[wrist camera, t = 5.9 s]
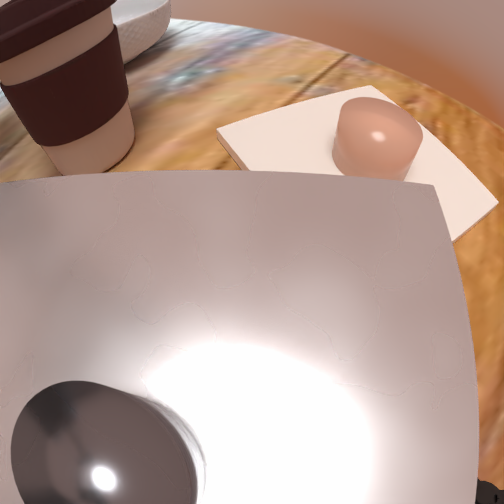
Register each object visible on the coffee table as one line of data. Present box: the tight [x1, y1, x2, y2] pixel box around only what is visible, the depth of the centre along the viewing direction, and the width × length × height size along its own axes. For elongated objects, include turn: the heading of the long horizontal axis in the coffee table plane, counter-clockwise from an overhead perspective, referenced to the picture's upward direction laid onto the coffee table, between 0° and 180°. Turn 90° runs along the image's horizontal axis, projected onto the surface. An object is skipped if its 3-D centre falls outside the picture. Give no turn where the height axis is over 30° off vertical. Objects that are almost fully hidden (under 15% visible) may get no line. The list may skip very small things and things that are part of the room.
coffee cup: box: [0, 0, 135, 176], centre depth 17 cm, size 10×10×15 cm
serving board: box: [216, 85, 499, 244], centre depth 22 cm, size 16×16×1 cm
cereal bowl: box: [111, 0, 171, 65], centre depth 30 cm, size 17×17×7 cm
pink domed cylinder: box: [332, 97, 423, 181], centre depth 20 cm, size 6×6×4 cm
